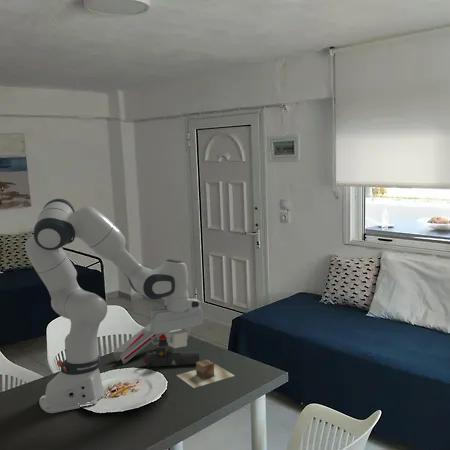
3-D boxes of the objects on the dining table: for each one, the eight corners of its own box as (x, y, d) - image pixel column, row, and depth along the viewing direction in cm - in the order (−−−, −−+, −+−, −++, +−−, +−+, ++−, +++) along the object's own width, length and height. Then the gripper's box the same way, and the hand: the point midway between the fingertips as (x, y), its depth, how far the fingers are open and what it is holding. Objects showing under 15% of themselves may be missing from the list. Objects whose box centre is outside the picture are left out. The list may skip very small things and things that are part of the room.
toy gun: (124, 378, 222) (111, 350, 217) (171, 339, 238) (160, 312, 233) (133, 382, 217) (119, 354, 212) (180, 342, 233) (169, 315, 228)
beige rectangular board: (194, 390, 188) (193, 387, 188) (176, 377, 199) (176, 375, 199) (235, 378, 197) (234, 375, 197) (215, 366, 209) (215, 364, 209)
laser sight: (199, 370, 206) (198, 346, 205) (143, 372, 206) (141, 348, 205) (200, 360, 216) (199, 337, 215) (146, 362, 216) (145, 339, 215)
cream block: (174, 348, 185) (174, 334, 184) (168, 344, 189) (168, 331, 188) (186, 345, 188) (186, 332, 187) (180, 341, 192) (180, 328, 191)
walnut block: (203, 379, 195) (202, 366, 194) (196, 374, 199) (196, 362, 198) (214, 375, 198) (213, 363, 197) (207, 371, 202) (207, 359, 201)
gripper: (154, 310, 178) (155, 349, 180) (205, 301, 189) (205, 337, 191) (146, 306, 183) (147, 344, 185) (196, 297, 195) (197, 333, 196)
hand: (177, 340), depth 188 cm, fingers closed on cream block, 5 cm apart
